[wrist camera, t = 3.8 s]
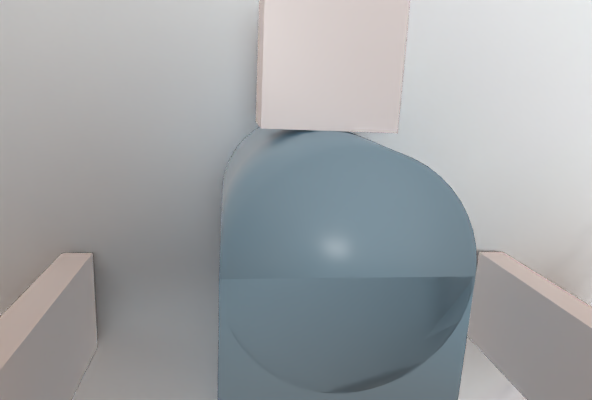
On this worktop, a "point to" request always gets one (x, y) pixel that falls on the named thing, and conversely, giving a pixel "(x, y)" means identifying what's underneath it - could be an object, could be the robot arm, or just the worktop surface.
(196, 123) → the worktop surface
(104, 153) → the worktop surface
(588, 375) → the robot arm
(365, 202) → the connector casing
